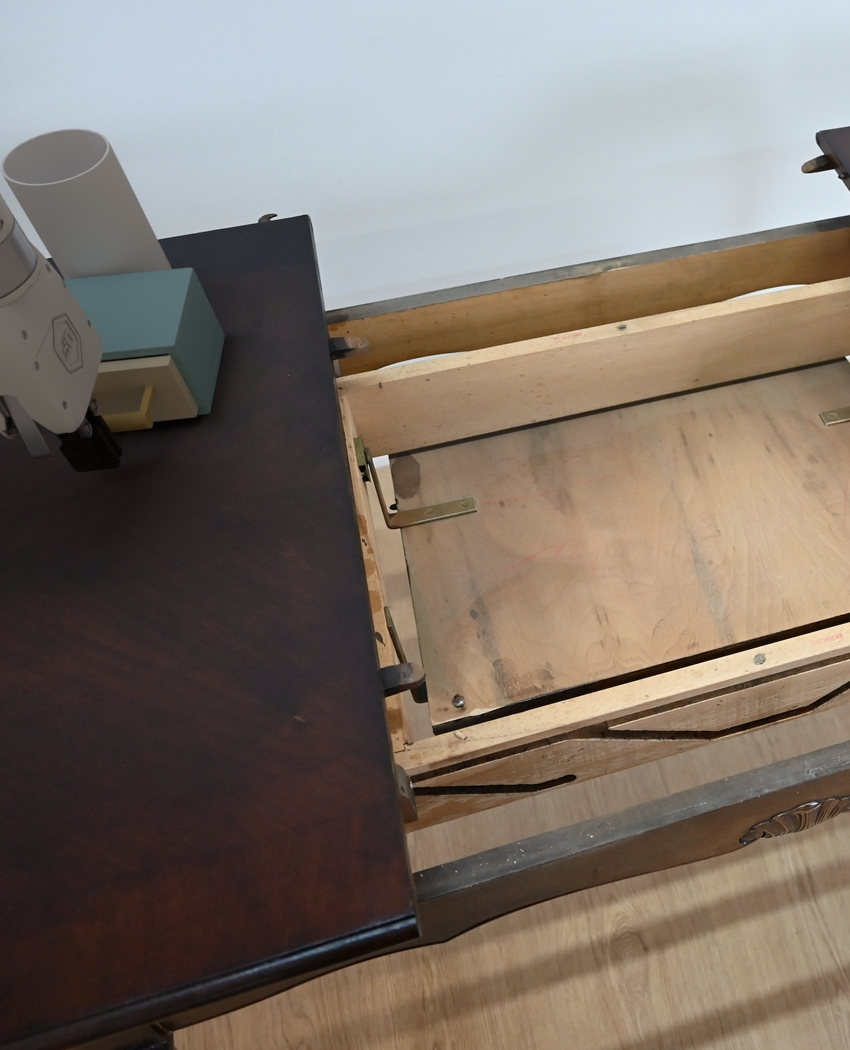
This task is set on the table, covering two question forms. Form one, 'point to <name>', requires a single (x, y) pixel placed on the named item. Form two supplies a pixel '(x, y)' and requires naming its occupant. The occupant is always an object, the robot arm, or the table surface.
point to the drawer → (142, 393)
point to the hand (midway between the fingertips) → (100, 462)
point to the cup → (82, 205)
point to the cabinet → (157, 322)
